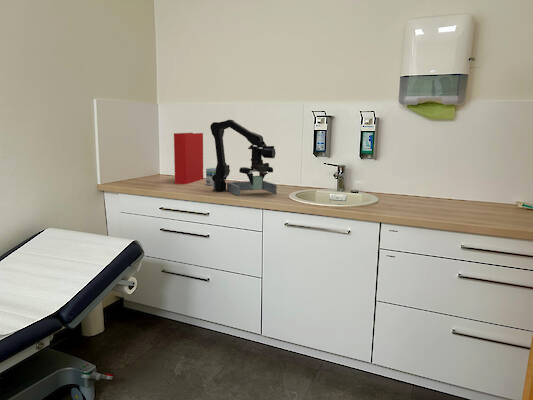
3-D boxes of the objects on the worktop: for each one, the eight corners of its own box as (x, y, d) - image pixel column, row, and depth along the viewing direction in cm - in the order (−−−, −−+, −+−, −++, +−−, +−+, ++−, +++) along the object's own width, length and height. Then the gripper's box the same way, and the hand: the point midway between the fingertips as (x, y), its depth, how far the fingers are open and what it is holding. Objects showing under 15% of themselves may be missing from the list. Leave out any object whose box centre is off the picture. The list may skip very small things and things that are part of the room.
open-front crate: (237, 195, 216) (238, 186, 215) (227, 190, 231) (227, 182, 230) (276, 193, 226) (276, 184, 225) (263, 188, 241) (263, 180, 240)
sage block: (253, 189, 219) (254, 177, 218) (250, 188, 224) (250, 175, 222) (262, 189, 221) (262, 176, 220) (258, 187, 226) (258, 175, 224)
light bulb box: (213, 186, 246) (213, 169, 244) (205, 185, 250) (205, 168, 248) (224, 184, 254) (224, 167, 252) (217, 183, 258) (217, 166, 256)
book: (192, 178, 278) (192, 132, 271) (203, 179, 275) (202, 133, 269) (173, 183, 252) (172, 133, 246) (185, 184, 250) (184, 133, 243)
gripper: (247, 159, 208) (246, 188, 211) (278, 158, 216) (277, 186, 219) (239, 157, 218) (238, 185, 221) (268, 156, 226) (268, 183, 229)
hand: (256, 185), depth 222 cm, fingers closed on sage block, 5 cm apart
